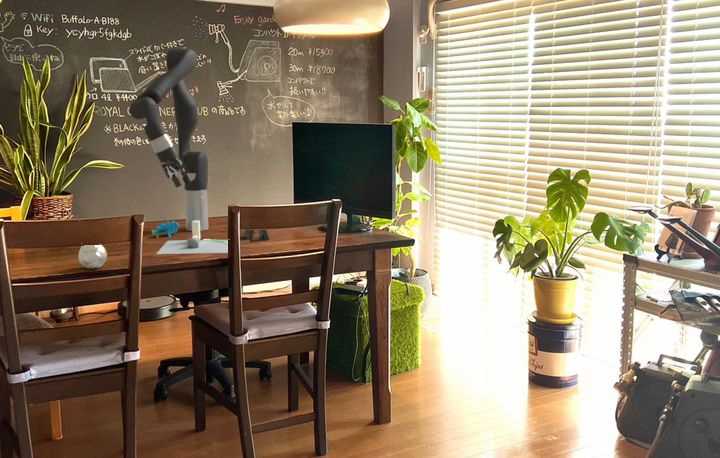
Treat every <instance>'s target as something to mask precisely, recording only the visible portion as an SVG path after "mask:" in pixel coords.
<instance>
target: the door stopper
mask: <svg viewBox="0 0 720 458" xmlns="http://www.w3.org/2000/svg"><path fill="white" fill-rule="evenodd" d="M257 232H258V234H259V235H258V236H256V237H255V236H254V233H255V229H254V230H246V229H245V230H244V234H243V237H244V238H246V239H248V240H249V241H253V242H261V240H262V241H269V240H270V238H269V234H268V232H267V229H266V230H258V229H257Z"/></svg>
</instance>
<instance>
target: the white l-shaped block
mask: <svg viewBox="0 0 720 458" xmlns="http://www.w3.org/2000/svg"><path fill="white" fill-rule="evenodd" d="M191 232H192V233H191V234H192V235H191V236H192V237H189V238H187V239H186V240H187V246H188V248H197V247H199V242H198V240H201V231H200V220H196V221H193V222H192V231H191Z"/></svg>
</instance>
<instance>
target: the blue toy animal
mask: <svg viewBox="0 0 720 458" xmlns="http://www.w3.org/2000/svg"><path fill="white" fill-rule="evenodd" d="M178 229H180V226H179V223H178V222H175V220H171V222H169V221H168V220H167V221H165V224H164V223H162V222H161V223H160V224H159V226H156V227H155V230H154V229H152V230H151V233H152V235H154V237H155V238H159V237H161V236H166V235H167V237H168V238H170V237H172V235H173V234H174V233H177V232H178Z"/></svg>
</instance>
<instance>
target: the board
mask: <svg viewBox="0 0 720 458" xmlns="http://www.w3.org/2000/svg"><path fill="white" fill-rule="evenodd" d="M228 240H229V239H214V238H213V239H211V238H204V239H200V240H198V242H199V247H197V248H188V246H187V239H186V240H183V239H182V240H178V239H177V240H167V241H166V242H165V243H164V244H163V245H162V247H160V249H159V250H158V251H157V252H156V255H178V254H179V255H182V254H185V255H186V254H189V255H190V254H192V255H193V254H229V253H228Z"/></svg>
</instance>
